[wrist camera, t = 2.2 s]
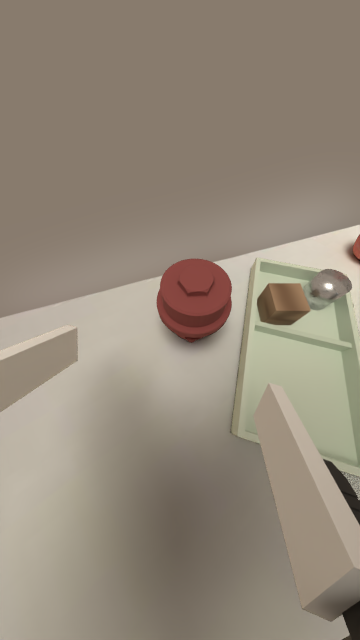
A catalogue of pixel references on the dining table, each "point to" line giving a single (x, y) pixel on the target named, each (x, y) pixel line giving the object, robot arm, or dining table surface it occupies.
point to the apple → (357, 248)
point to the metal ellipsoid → (326, 288)
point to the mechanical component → (194, 298)
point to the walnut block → (282, 303)
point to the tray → (303, 367)
